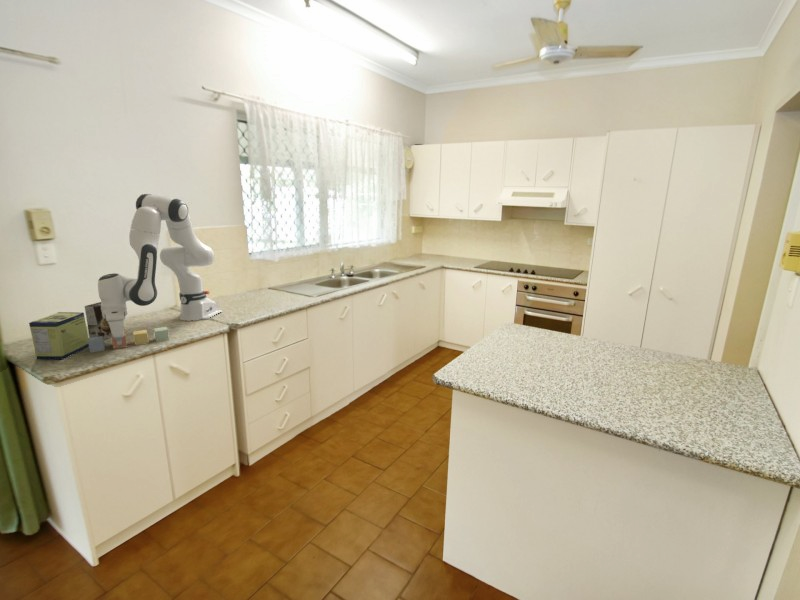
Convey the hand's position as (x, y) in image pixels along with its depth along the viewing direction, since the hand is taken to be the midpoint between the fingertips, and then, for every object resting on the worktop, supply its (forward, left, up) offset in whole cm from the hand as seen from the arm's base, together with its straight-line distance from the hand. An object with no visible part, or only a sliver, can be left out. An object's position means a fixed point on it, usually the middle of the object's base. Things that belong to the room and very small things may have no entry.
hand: (119, 342), depth 176 cm
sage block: (-13, +9, -2) cm, 16 cm away
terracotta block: (0, 0, -2) cm, 2 cm away
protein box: (+14, -14, -2) cm, 20 cm away
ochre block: (-6, +5, -2) cm, 8 cm away
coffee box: (-5, -17, -2) cm, 18 cm away
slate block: (+7, -5, -2) cm, 8 cm away
